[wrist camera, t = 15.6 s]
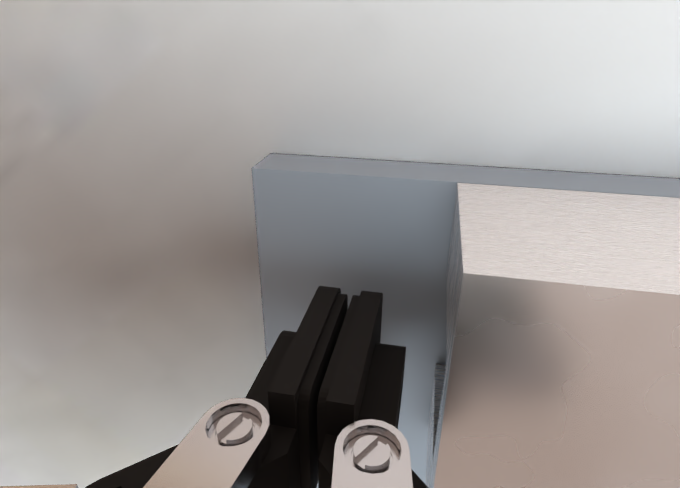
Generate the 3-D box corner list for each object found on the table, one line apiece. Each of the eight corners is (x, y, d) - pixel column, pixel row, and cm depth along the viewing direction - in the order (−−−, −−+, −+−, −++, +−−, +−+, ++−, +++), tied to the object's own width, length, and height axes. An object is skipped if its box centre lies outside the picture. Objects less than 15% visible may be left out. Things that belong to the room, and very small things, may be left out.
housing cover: (428, 425, 15) (421, 576, 11) (457, 182, 11) (463, 272, 7) (673, 465, 14) (768, 650, 10) (792, 205, 10) (1018, 328, 6)
